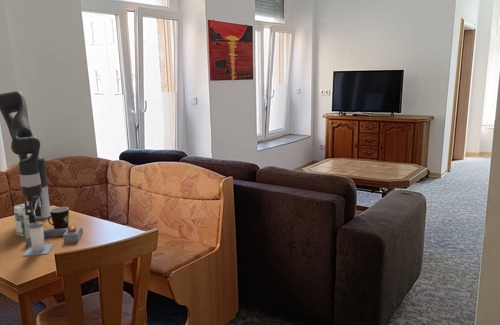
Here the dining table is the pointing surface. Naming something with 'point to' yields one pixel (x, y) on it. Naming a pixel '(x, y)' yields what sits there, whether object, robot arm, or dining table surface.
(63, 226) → the coffee mug
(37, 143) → the robot arm
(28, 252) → the mat
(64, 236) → the housing
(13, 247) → the dining table surface
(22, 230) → the syrup box
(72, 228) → the right plunger
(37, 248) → the cylinder
